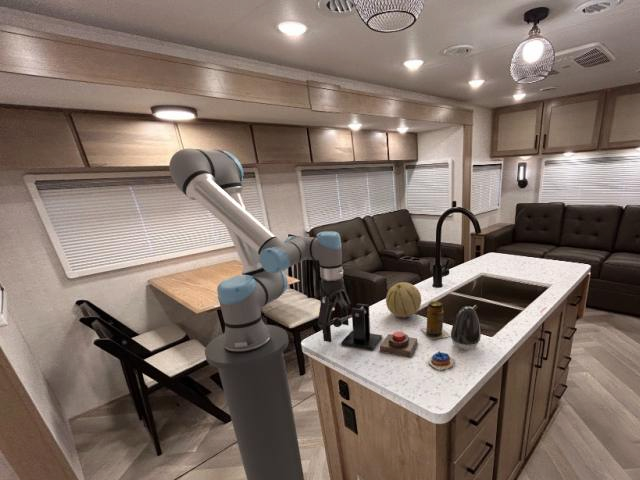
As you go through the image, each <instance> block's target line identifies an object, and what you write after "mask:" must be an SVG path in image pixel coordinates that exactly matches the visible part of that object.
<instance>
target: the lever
mask: <svg viewBox="0 0 640 480" xmlns="http://www.w3.org/2000/svg"><path fill="white" fill-rule="evenodd" d="M358 309H364V311H365V313H366V310H365V308H364V307H363V306H362V307H360V308H358ZM347 319H348V320H350V319H352V313H350V314H348V316H346V317H344V318H342V319H341V317H334V318H333V319H332V325H333V327H335V328H340V327H341V326H343V324H342V322H343V321H345V320H347Z"/></svg>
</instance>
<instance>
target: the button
mask: <svg viewBox="0 0 640 480" xmlns="http://www.w3.org/2000/svg"><path fill="white" fill-rule="evenodd" d="M392 334H393V339H394V340H395V341H403V340H404V339H405V334H406V333H405V332H403V331H402V330H401V331H399V330H397V331H394V332H393V333H392Z"/></svg>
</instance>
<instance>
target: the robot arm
mask: <svg viewBox="0 0 640 480" xmlns="http://www.w3.org/2000/svg"><path fill="white" fill-rule="evenodd" d="M168 164H169V165H168V166H169V167H168V168H169V169H168V170H169V174H170V177H171V179H172V181H173V182H174V184H175V186H176V187H177V188H178V190H180V191H181V192H182V194H184V195H185V196H186V197H187V198H189V200H191V201H197V202H198V203H199V204H201V205H202V206H203V207H204V208H205V209H206V210H207V211H209V213H210V214H212V215H213V216H214V217H215V218H217V220H219V221H220V222H221V223H222V224H223V225H225V228H226V230H227V232H228V235H229V237H230V239H231V241H232V243H233V245H234V248H235V250H236V252H237V255H238V257H239V259H240V261H241V264H242V267H243V268H242V270H241V272H240V273H241V274H239V275H235V276H230V277H228V278H226V279H223V280H222V281H221V282H220V283H219V284H218V285H217V288H216V290H217V291H216V292H217V301H218V303H219V306H220V310H221V314H222V318H223V323H224V333H225V338H224V340H223V345H224V348H225V350H226V351H228V352H230V353H248V352H252V351H255V350H258V349H260V348H262V347H264V346H265V345H267V344H268V343H269V342H270V340H271V336H270V332H269V330H268V329H267V327H266V325H267V324H266V323H265V322H264V321H263V318H262V312H261V308H263V307H265V306H266V305H268V304H270V303H271V302H273V301H275V300H277V299H279V298H281V296H282V295H284V293H285V292H286V291H287V290H288V289H287V288H288V278H287V275H286V273H285V272H284V271H286V270H287V269H288V268H290V267H292V266H294V265H297V264H299V263H301V262H303V261H306V260H307V261H309V260H310V261H318V263H319V272H320V273H319V274H320V278H321V280H320V281H321V282H320V283H321V289H322V290H323V291H324V292H325V295H324V296H320V298H319V299H320V301H319V302H320V305H319V311H318V312H319V313H318V319H317V326H318V327H321V328H322V329H321V330H322V336H323V338H322V339H323V342H325V343H326V342H327V343H332V330H331V324H330V320H331V317H332V313H333V309H334V308H335V307H336V304H338V305H339V307H340V312H339V313H340V318H341V319H342V318H344V317H346V316H348V315H349V310H350V308H351V301H350V297H349V295H348V292H347V289H346V288H347V287H346V285H345V282H344V281H345V280H344V269H343V254H342V253H343V252H342V248H343V247H342V246H343V245H342V241H341V235H340V233H339V232H337V231H329V230H327V231H320V232H318V233H317V234H316V237H312V236H311V237H309V236H300V235H295V236H294V235H293V236H291V235H290V236H288V237H286V239H284V240H283V241H284V242H283V241H282V240H280V238H278V237H277V236H276V235H274V233H272V231H270V230H269V229H268V228H267V227H266V226H264V225H263V224H262V223H261V222H260V221H259V220H258V219H256V218H255V216H254V215H252V214H251V213H250V212H249V211H248V209H247V206H246V204H245V201H244V199H243V196H242V191H243V189H244V187H243V184H242V182H243V181H244V169H243V166H242V164H241V162H240V161H239V159H238V158H237V157H236V156H235V155H234V154H232V153H230V152H229V151H226V150H220V149H203V148H191V147H189V148H182V149H179V150H178V151H175V153H174V154H172V156H171V158H170V160H169V163H168ZM349 324H350V323H349V319H347V320H345V321H343V322H342V326H349Z"/></svg>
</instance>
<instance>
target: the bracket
mask: <svg viewBox="0 0 640 480" xmlns="http://www.w3.org/2000/svg"><path fill="white" fill-rule="evenodd" d="M362 306H363V307H364V308H365V310H366V313H365V311H364V309H358V308H360V307H362ZM351 314H352V318H351V321H352V322H351V323H352V330H351V331H350V332H349V333H348V334H347V335H346V336H345V338H343V339H342V341H341V342H340V343H341V346H345V347H351V348H357V349H363V350H368V351H374V349H375V348H376V347H377V345H378V344H379V343H380V341H381V340H382V339H383V335H382V334H377V333H371V324H370V323H371V321H370V320H371V319H370V318H371V317H370V304H367V303H366V304H364V303H356V307H352V308H351Z"/></svg>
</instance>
